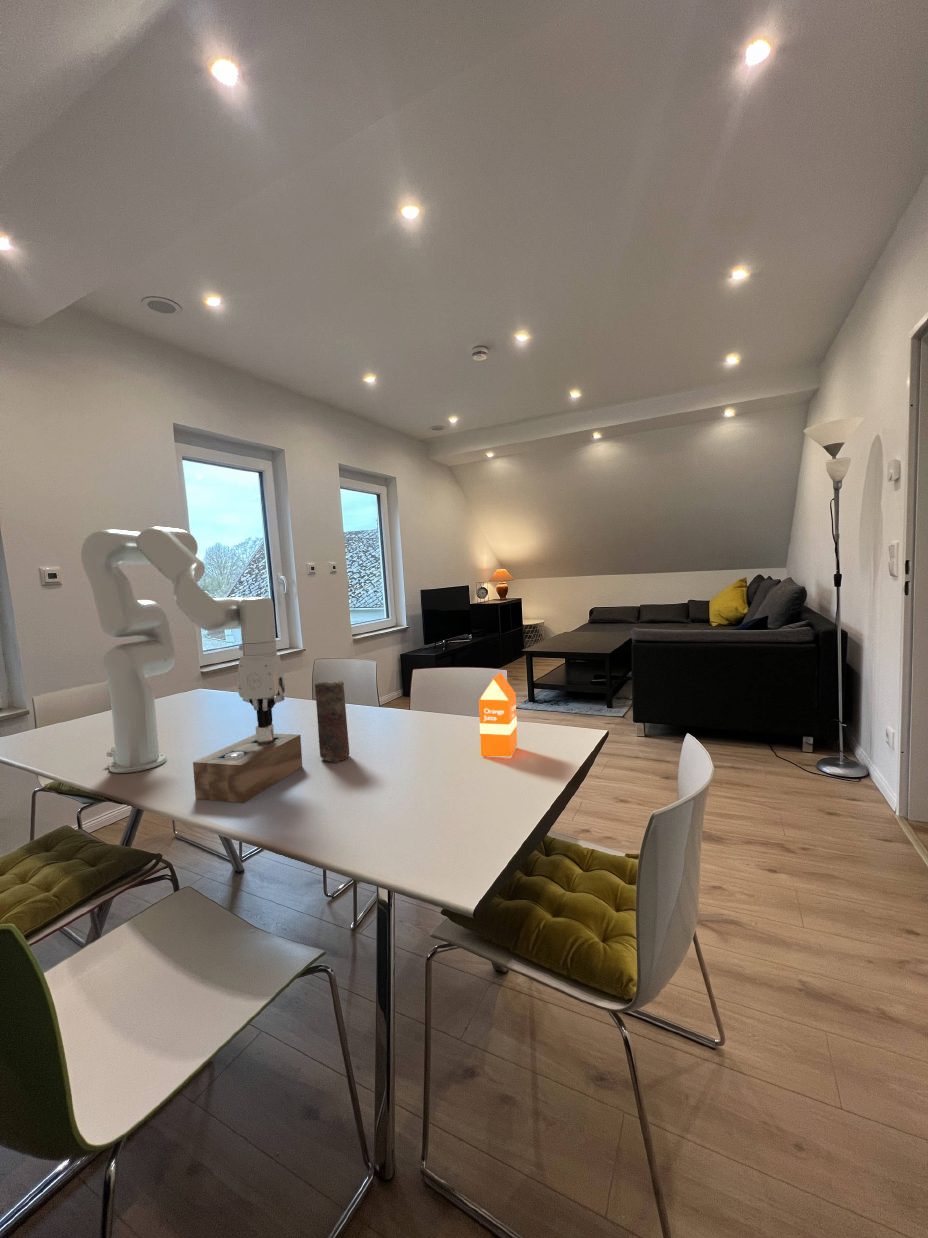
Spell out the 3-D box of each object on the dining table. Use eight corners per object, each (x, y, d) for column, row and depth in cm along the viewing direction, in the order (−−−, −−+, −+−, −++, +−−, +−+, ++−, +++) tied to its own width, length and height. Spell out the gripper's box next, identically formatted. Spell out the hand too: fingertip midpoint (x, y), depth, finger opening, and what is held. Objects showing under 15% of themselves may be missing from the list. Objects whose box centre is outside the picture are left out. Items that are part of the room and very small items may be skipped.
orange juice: (480, 757, 134) (477, 678, 133) (489, 746, 143) (486, 672, 141) (511, 758, 132) (508, 678, 131) (518, 747, 140) (515, 672, 139)
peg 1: (222, 788, 117) (220, 757, 116) (234, 782, 120) (232, 751, 120) (238, 790, 115) (236, 758, 115) (250, 783, 119) (248, 752, 119)
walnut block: (195, 798, 114) (192, 762, 114) (260, 763, 135) (258, 732, 135) (243, 803, 111) (241, 765, 111) (302, 766, 132) (300, 734, 132)
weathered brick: (313, 760, 136) (308, 683, 135) (332, 752, 143) (328, 678, 141) (336, 764, 133) (331, 684, 131) (355, 755, 139) (351, 679, 138)
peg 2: (253, 757, 127) (251, 728, 126) (264, 751, 131) (262, 723, 130) (268, 757, 126) (266, 728, 125) (278, 752, 130) (276, 724, 129)
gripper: (221, 652, 125) (228, 729, 126) (277, 651, 121) (283, 731, 122) (243, 648, 132) (248, 721, 133) (296, 647, 128) (301, 722, 129)
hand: (265, 725), depth 128 cm, fingers closed
